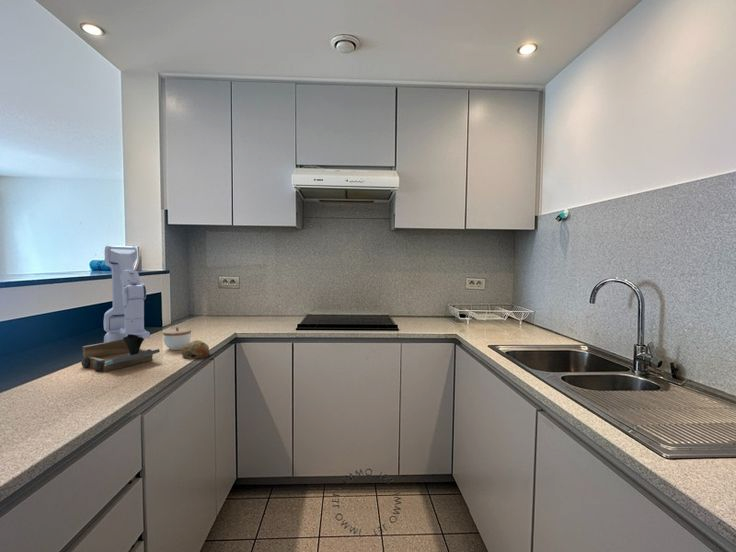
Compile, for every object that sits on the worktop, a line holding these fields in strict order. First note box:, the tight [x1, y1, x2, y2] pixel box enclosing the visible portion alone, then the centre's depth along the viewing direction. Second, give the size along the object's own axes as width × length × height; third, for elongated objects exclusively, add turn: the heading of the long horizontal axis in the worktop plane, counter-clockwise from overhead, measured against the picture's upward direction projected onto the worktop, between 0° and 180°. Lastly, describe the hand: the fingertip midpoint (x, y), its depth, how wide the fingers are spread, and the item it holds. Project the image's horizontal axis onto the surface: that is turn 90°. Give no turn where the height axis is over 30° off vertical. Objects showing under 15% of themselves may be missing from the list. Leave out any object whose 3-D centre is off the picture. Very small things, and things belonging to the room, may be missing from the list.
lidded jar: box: [162, 326, 192, 351], centre depth 148 cm, size 11×11×9 cm
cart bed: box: [80, 339, 154, 373], centre depth 126 cm, size 14×18×7 cm
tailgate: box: [106, 348, 160, 366], centre depth 122 cm, size 1×16×5 cm
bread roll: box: [181, 339, 210, 360], centre depth 137 cm, size 10×10×8 cm
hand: (134, 355), depth 122 cm, fingers closed, pressing on tailgate
